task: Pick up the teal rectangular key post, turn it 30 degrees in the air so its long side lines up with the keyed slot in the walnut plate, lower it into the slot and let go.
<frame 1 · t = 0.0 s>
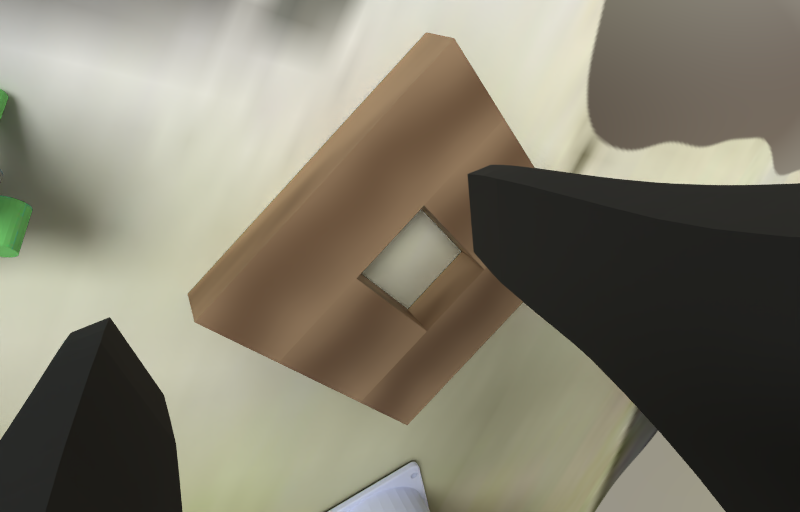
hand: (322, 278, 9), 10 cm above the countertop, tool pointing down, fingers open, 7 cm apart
slot plate: (405, 253, 24), on the countertop
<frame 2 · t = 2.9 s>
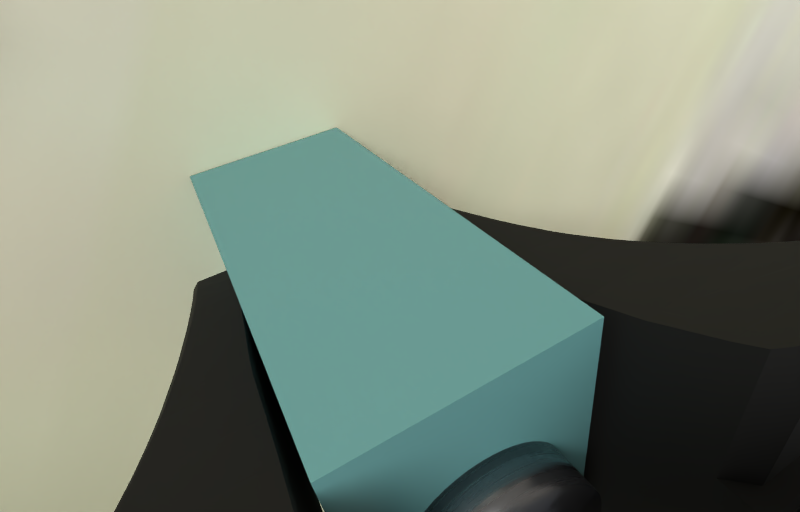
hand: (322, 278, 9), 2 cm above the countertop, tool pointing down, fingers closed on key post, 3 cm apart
key post: (297, 242, 11), on the countertop, touching gripper
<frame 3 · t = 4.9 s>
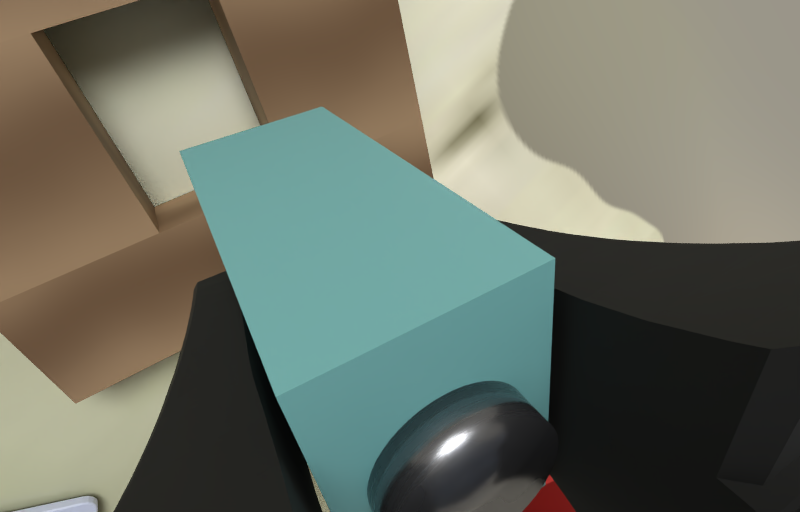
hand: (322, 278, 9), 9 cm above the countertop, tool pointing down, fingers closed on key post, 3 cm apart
key post: (285, 219, 11), point 6 cm above the countertop, touching gripper
canned food: (489, 460, 35), on the countertop
slot plate: (174, 101, 14), on the countertop
when the fingers open (3 cm above the countertop, at t = 7.3 s): key post stays where it is, resting in slot plate.
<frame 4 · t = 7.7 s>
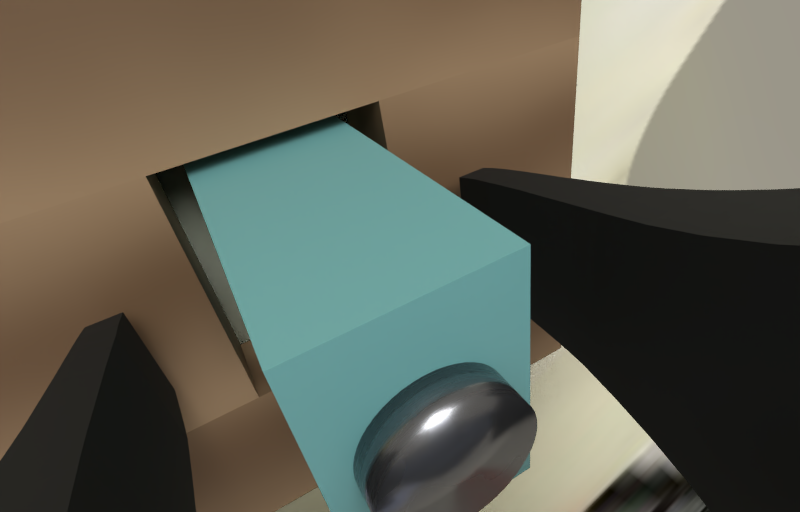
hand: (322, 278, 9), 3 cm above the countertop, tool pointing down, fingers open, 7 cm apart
key post: (280, 213, 11), resting in slot plate
slot plate: (285, 224, 11), on the countertop
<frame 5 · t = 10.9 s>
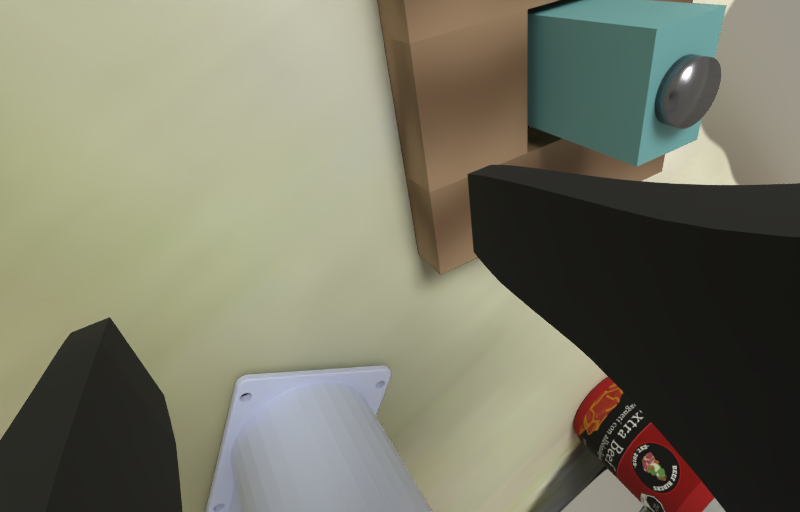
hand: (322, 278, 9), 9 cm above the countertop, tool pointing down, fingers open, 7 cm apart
key post: (534, 58, 21), resting in slot plate
canned food: (603, 401, 41), on the countertop
slot plate: (535, 65, 21), on the countertop
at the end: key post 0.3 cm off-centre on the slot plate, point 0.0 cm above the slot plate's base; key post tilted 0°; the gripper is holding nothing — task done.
